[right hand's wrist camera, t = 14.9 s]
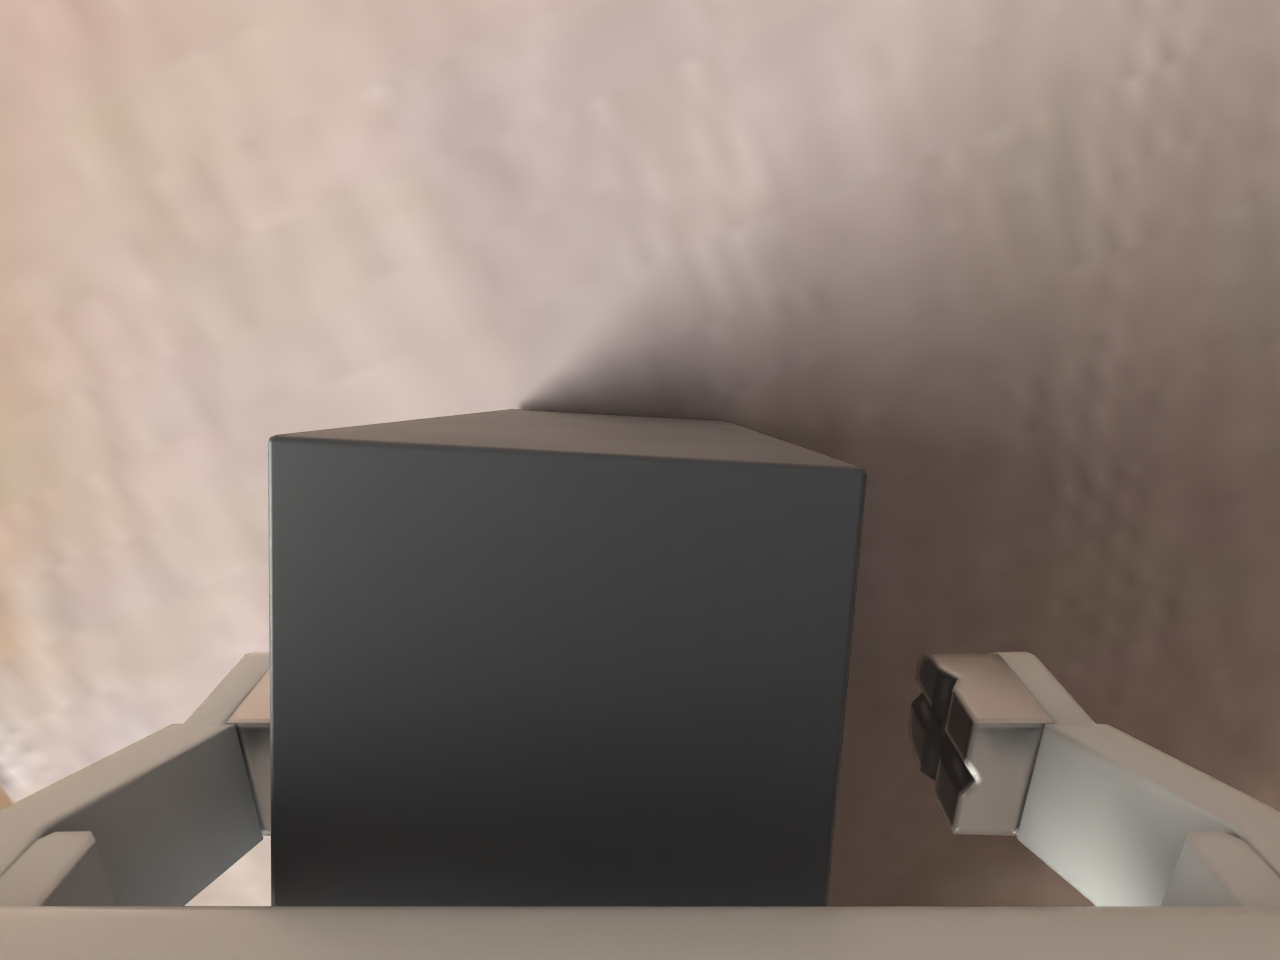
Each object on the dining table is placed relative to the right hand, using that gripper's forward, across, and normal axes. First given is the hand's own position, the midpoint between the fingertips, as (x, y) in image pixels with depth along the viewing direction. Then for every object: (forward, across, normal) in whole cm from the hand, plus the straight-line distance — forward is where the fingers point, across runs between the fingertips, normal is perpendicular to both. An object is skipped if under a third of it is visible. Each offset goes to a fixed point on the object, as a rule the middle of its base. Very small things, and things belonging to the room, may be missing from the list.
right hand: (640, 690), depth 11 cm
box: (+8, -1, -9) cm, 12 cm away
